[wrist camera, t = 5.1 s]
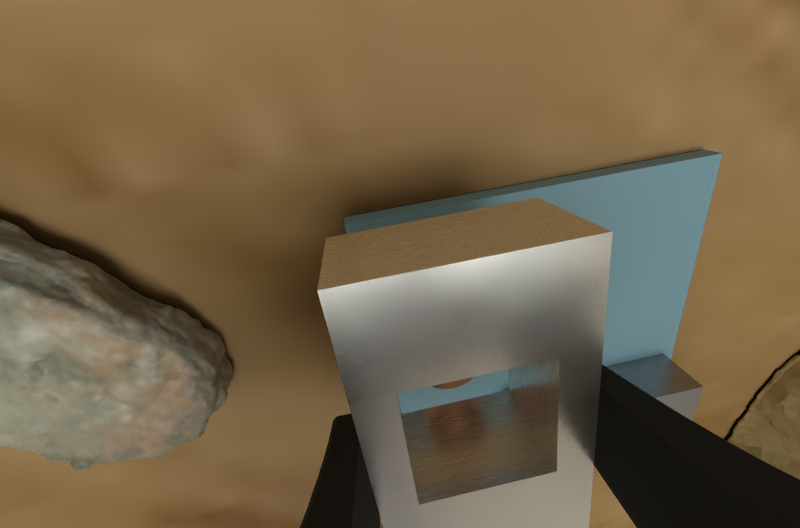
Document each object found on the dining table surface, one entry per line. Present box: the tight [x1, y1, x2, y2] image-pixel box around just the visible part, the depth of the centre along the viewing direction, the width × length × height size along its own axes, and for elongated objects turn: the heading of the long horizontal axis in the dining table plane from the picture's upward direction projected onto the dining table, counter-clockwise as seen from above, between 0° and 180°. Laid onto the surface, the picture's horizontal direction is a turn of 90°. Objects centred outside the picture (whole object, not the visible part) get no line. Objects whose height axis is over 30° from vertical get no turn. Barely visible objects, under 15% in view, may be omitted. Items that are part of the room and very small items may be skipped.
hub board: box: [344, 150, 723, 414], centre depth 17 cm, size 16×14×1 cm
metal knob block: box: [503, 353, 703, 421], centre depth 17 cm, size 3×8×5 cm, turn 98°
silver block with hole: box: [317, 198, 613, 528], centre depth 10 cm, size 6×9×3 cm, turn 8°
